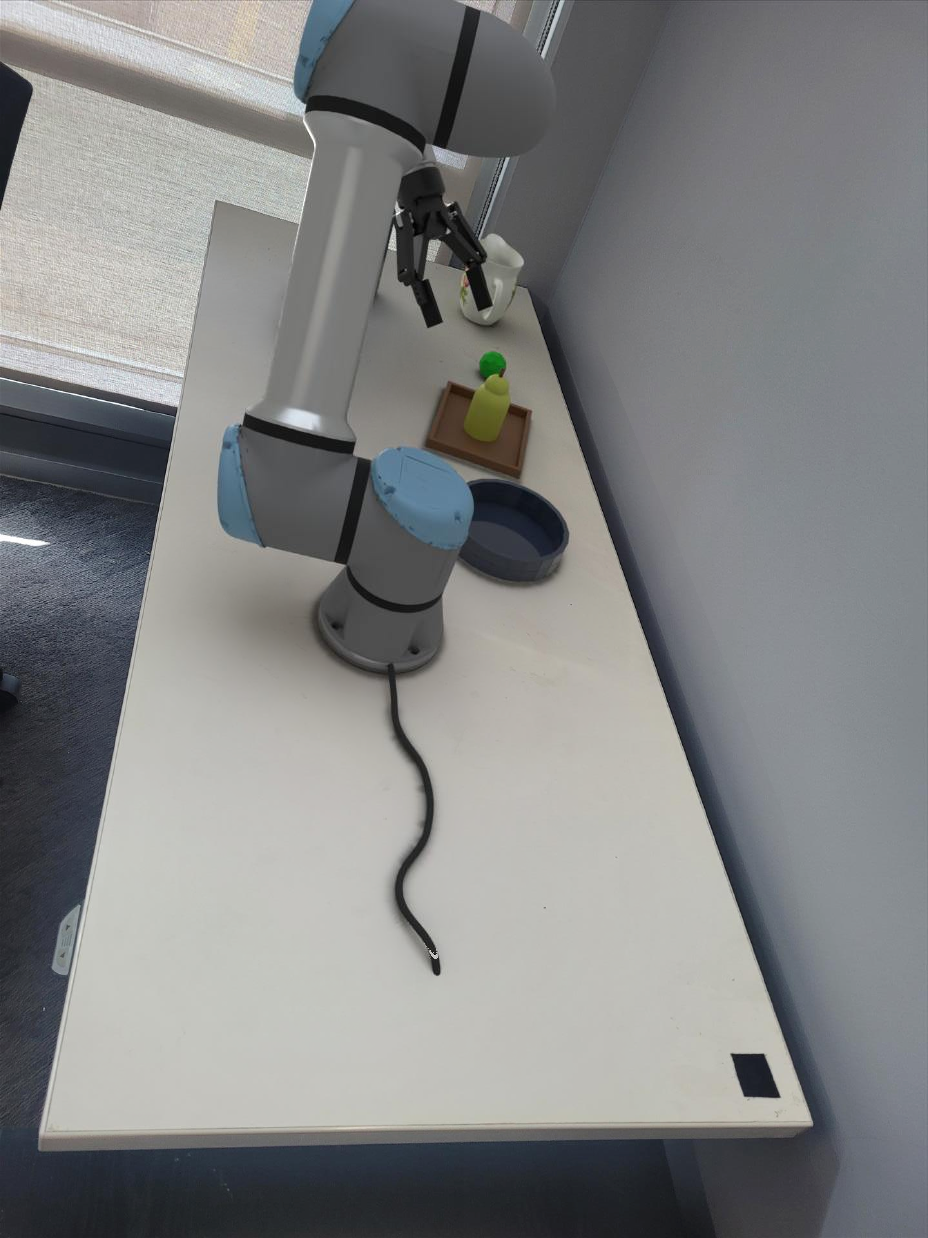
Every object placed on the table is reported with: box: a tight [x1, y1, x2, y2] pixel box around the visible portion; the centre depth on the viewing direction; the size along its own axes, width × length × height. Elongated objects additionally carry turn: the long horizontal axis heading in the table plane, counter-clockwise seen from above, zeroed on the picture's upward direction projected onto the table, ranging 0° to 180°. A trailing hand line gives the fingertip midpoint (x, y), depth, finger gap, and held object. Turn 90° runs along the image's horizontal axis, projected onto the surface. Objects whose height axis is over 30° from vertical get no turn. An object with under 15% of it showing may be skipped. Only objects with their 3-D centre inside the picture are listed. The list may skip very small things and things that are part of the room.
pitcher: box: [459, 232, 525, 326], centre depth 163 cm, size 11×18×14 cm, turn 6°
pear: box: [464, 368, 511, 442], centre depth 133 cm, size 6×6×12 cm
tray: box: [425, 380, 533, 479], centre depth 137 cm, size 20×16×2 cm
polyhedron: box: [478, 350, 507, 379], centre depth 150 cm, size 5×5×5 cm
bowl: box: [458, 478, 570, 583], centre depth 118 cm, size 18×18×4 cm
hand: (461, 316), depth 129 cm, fingers open, 13 cm apart
